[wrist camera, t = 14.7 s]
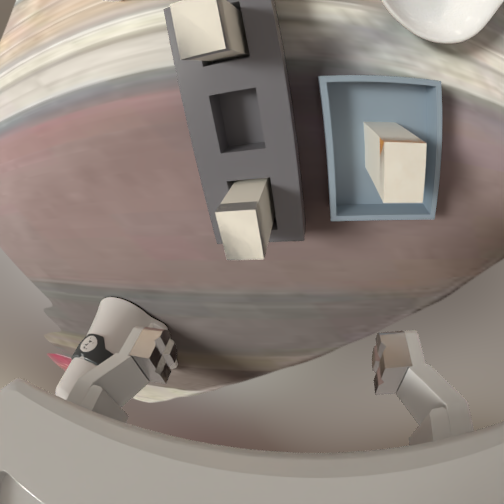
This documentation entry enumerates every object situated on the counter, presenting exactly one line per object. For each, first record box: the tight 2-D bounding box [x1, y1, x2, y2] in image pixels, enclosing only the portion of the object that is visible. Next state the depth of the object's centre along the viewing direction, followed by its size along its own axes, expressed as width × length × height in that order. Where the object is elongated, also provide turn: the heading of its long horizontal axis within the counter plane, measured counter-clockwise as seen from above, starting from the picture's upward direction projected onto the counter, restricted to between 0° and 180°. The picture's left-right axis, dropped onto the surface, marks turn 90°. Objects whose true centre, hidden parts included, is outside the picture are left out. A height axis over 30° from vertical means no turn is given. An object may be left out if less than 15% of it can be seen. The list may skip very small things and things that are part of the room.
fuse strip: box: [164, 0, 305, 244], centre depth 27 cm, size 27×10×4 cm, turn 10°
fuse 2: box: [215, 177, 275, 260], centre depth 29 cm, size 5×4×9 cm
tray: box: [318, 75, 442, 221], centre depth 26 cm, size 15×12×4 cm
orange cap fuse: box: [364, 122, 427, 203], centre depth 23 cm, size 5×4×9 cm
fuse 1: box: [170, 0, 250, 62], centre depth 19 cm, size 5×4×9 cm
